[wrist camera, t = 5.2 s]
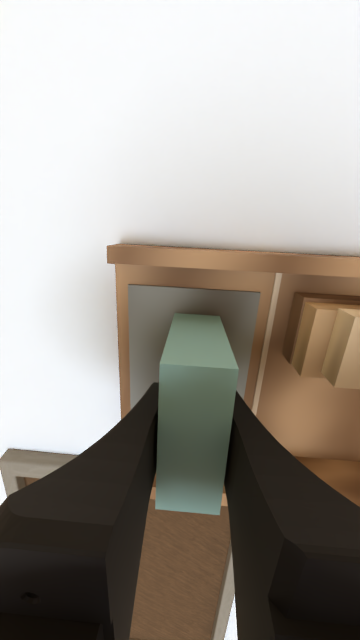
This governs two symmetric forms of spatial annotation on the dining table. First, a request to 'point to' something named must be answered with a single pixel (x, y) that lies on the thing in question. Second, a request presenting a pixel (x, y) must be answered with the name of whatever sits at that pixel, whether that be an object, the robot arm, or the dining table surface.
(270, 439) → the robot arm
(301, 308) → the offcut stack
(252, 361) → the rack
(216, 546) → the clipboard
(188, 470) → the rectangular block
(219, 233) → the dining table surface
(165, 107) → the dining table surface
